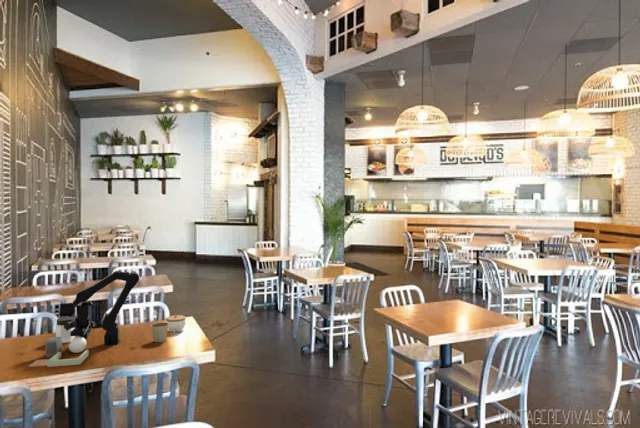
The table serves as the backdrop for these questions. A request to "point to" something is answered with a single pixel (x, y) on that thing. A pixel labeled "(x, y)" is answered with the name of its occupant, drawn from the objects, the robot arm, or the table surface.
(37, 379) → the table surface
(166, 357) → the table surface
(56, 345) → the grey block
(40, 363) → the terracotta mat
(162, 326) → the flower pot
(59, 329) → the jar
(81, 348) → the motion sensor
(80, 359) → the frame
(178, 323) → the lidded jar
